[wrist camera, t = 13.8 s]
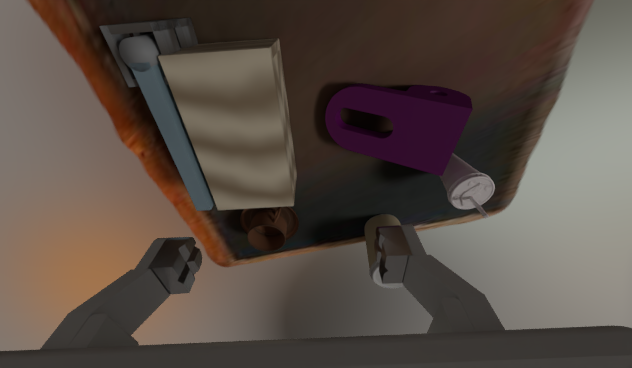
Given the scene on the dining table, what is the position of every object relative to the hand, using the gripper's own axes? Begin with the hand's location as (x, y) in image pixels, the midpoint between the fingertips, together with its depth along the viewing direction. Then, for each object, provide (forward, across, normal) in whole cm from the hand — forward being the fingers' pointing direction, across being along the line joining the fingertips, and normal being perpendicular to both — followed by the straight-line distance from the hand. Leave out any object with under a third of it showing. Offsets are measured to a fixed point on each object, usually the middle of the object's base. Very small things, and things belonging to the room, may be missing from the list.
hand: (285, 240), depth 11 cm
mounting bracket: (+32, -12, +7) cm, 35 cm away
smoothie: (+31, -24, +16) cm, 43 cm away
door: (+31, +17, +5) cm, 36 cm away
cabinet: (+31, +11, +4) cm, 33 cm away
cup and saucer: (+32, +10, +28) cm, 43 cm away
